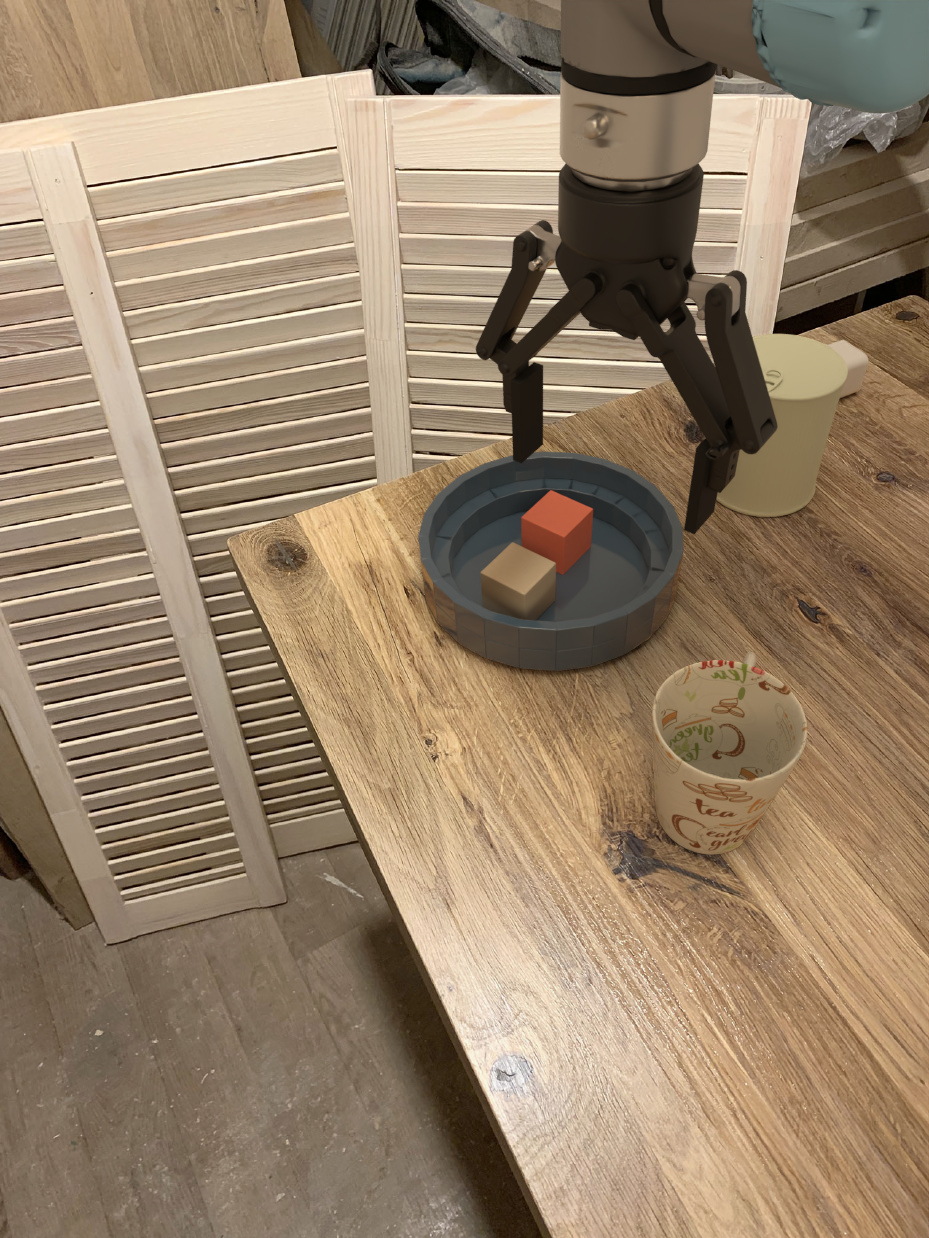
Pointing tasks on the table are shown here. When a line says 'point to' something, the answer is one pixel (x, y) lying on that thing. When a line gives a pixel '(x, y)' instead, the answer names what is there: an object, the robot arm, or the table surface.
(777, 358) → the can
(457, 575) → the bowl
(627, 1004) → the table surface
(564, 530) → the coral block
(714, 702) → the mug
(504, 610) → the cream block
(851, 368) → the usb wall charger
